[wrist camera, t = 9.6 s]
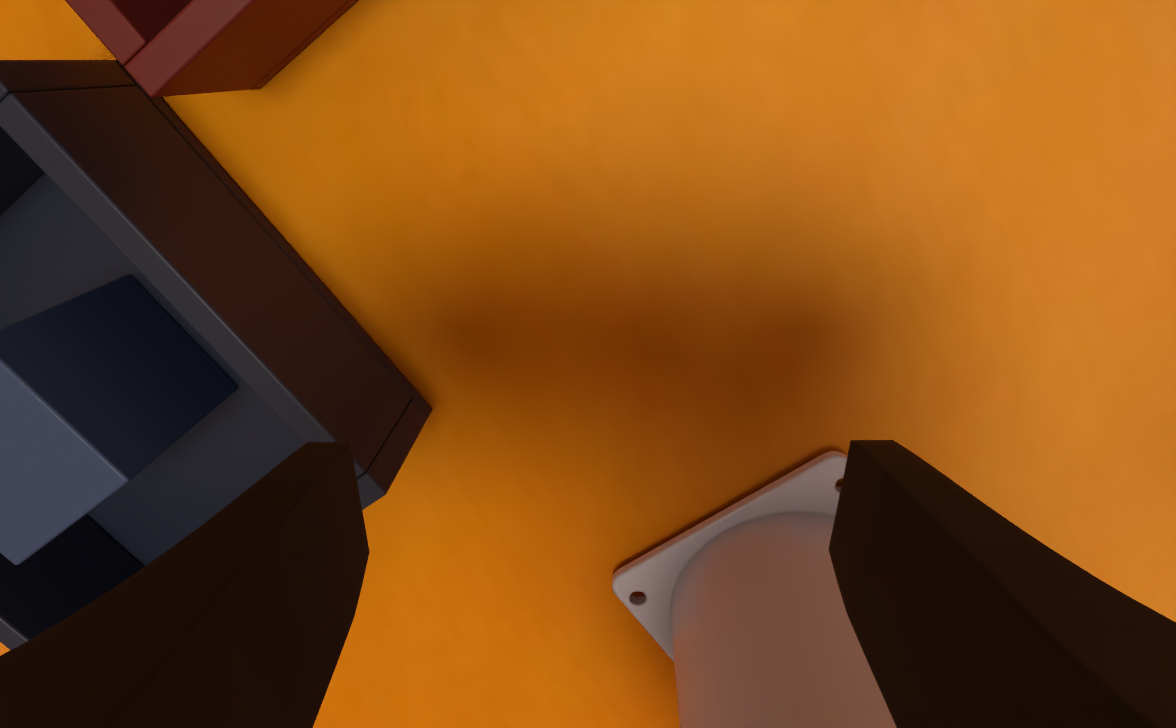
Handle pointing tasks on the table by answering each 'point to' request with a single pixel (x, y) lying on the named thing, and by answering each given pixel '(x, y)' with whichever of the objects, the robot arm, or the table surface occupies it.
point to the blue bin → (193, 300)
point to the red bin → (206, 39)
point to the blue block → (91, 406)
